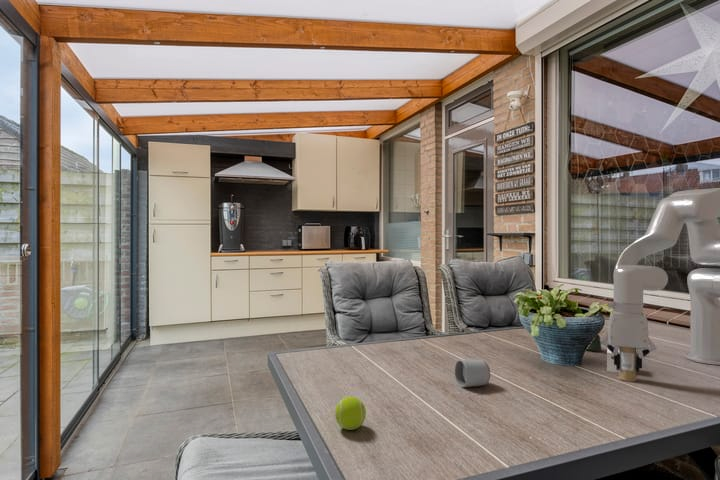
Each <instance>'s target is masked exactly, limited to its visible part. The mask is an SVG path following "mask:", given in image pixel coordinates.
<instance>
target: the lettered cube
mask: <svg viewBox="0 0 720 480" xmlns="http://www.w3.org/2000/svg"><path fill="white" fill-rule="evenodd" d="M606 350H607V351H606V372H611V373H618V374H620V373H619V372H620V368H619V369H617V365H614V354H613V353H612V352H611V351H610V350H609V349H608V348H607V347H606ZM618 352H619V351H618Z"/></svg>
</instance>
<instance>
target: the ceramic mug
mask: <svg viewBox="0 0 720 480" xmlns="http://www.w3.org/2000/svg"><path fill="white" fill-rule="evenodd" d="M454 377H455V380H456V383H457V385H458V386H459V387H461V388H471V387H480V386H481V387H482V386H485V385H488V383H489V382H490V379H491V370H490V367H489V364H488V363H487V362H486V361H485V360H482V359H458V360H457V361H456V362H455V365H454Z"/></svg>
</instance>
